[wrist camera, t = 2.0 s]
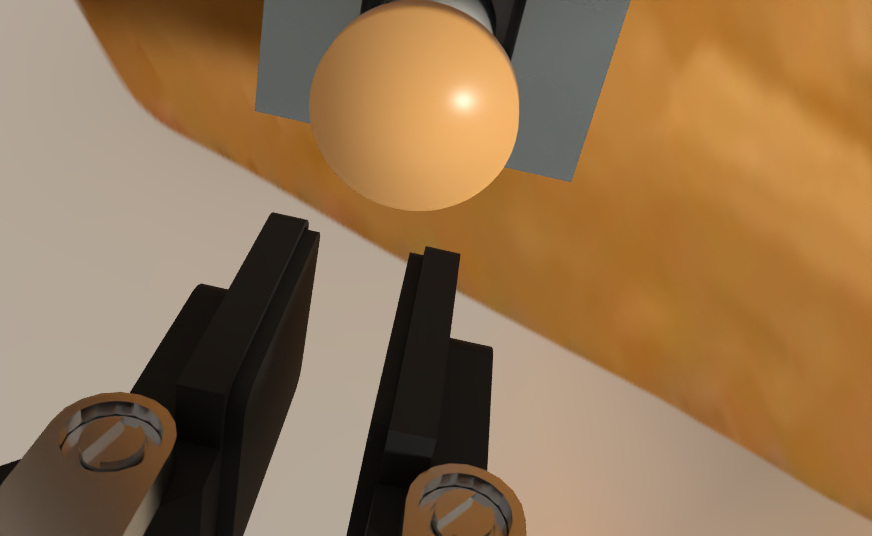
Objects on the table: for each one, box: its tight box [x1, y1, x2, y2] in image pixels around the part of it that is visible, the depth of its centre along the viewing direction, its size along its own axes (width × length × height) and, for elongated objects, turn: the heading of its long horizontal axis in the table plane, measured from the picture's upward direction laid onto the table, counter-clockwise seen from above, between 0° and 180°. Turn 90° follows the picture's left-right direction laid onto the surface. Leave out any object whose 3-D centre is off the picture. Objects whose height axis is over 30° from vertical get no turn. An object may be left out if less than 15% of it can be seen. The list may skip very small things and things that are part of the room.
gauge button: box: [309, 0, 519, 211], centre depth 23 cm, size 5×5×8 cm
